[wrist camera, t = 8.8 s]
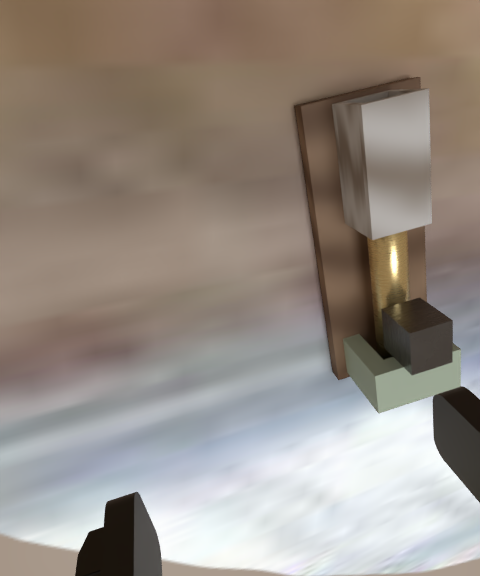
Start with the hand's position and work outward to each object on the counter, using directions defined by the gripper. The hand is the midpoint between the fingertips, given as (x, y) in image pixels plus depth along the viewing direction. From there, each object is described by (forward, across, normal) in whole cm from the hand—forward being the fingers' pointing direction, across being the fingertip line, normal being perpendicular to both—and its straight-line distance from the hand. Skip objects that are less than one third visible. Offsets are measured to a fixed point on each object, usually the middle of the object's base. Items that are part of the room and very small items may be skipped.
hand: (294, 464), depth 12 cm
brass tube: (+26, -15, +9) cm, 31 cm away
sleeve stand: (+28, -16, +7) cm, 33 cm away
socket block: (+27, -15, +18) cm, 35 cm away
